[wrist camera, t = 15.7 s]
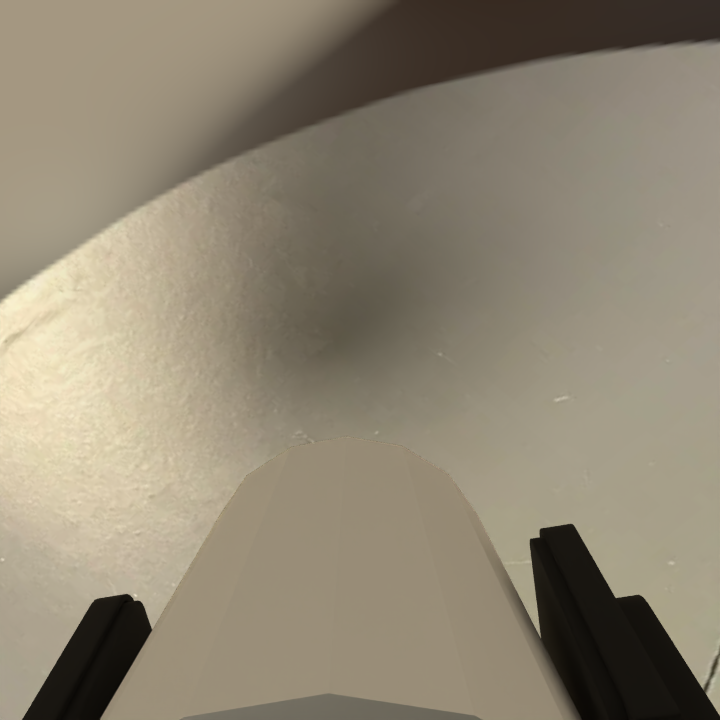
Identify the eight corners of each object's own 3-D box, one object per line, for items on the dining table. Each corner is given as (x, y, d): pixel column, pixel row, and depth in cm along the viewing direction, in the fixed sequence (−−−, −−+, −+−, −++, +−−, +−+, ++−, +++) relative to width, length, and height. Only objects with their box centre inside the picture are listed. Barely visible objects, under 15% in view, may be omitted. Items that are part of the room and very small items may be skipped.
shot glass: (121, 482, 13) (-141, 839, 6) (445, 352, 12) (551, 602, 5) (270, 730, 15) (193, 1208, 8) (558, 633, 14) (741, 1077, 7)
